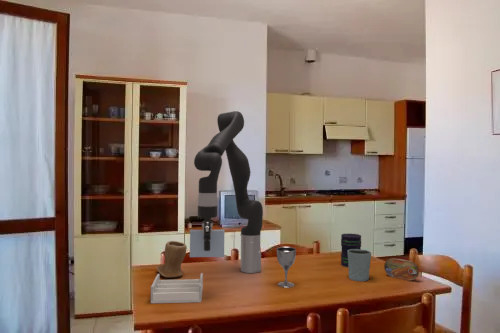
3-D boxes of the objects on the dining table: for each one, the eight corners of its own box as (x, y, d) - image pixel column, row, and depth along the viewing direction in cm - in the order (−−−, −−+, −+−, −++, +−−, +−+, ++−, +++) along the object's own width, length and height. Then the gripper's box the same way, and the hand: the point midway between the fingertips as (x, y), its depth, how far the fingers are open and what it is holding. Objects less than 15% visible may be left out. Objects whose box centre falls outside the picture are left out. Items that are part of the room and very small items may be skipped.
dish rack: (202, 287, 159) (202, 273, 159) (201, 302, 142) (201, 285, 142) (157, 288, 157) (157, 273, 157) (150, 303, 141) (150, 286, 141)
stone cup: (189, 277, 173) (189, 243, 173) (162, 280, 168) (162, 245, 168) (180, 269, 187) (180, 237, 186) (155, 271, 182) (155, 239, 181)
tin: (383, 275, 178) (383, 257, 178) (386, 274, 180) (387, 255, 180) (417, 282, 167) (417, 263, 167) (420, 281, 170) (420, 261, 170)
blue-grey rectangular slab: (223, 255, 152) (224, 229, 152) (224, 256, 149) (224, 230, 149) (190, 255, 150) (190, 229, 150) (189, 257, 148) (190, 230, 148)
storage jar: (363, 264, 197) (364, 234, 197) (357, 268, 189) (358, 237, 189) (344, 261, 202) (344, 232, 202) (337, 265, 194) (338, 235, 194)
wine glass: (297, 283, 166) (297, 247, 166) (293, 288, 158) (293, 251, 158) (279, 281, 168) (279, 246, 168) (274, 286, 161) (274, 250, 161)
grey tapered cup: (343, 278, 173) (343, 251, 173) (354, 273, 180) (354, 247, 180) (364, 283, 166) (364, 255, 166) (375, 278, 173) (375, 251, 173)
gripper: (217, 206, 143) (217, 253, 143) (217, 202, 157) (216, 245, 157) (197, 206, 143) (196, 253, 143) (198, 202, 156) (197, 246, 156)
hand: (207, 249), depth 150 cm, fingers closed on blue-grey rectangular slab, 2 cm apart
